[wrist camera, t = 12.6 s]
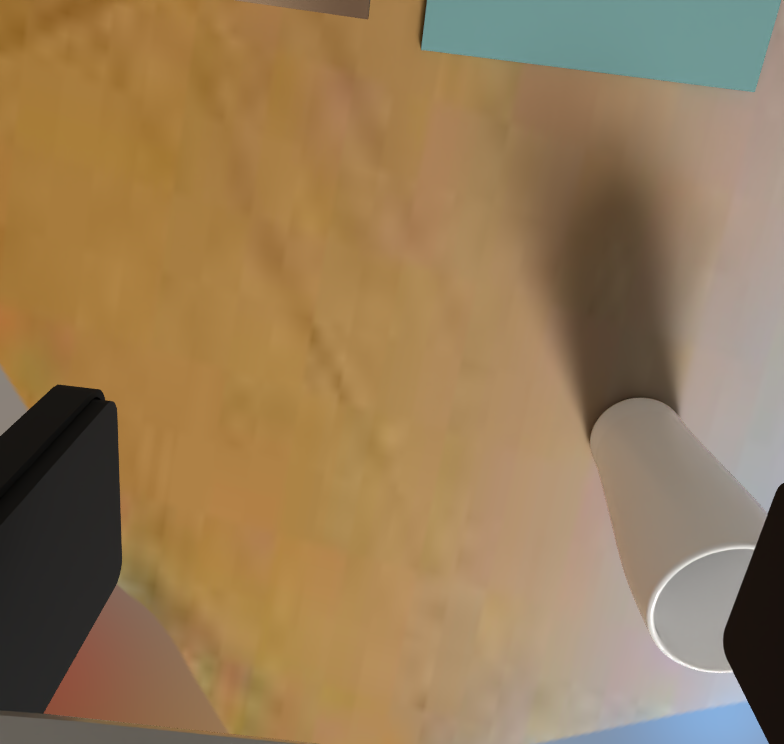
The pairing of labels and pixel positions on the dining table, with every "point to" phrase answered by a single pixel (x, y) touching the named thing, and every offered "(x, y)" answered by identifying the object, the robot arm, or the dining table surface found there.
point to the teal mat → (613, 36)
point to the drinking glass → (675, 527)
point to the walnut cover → (324, 6)
